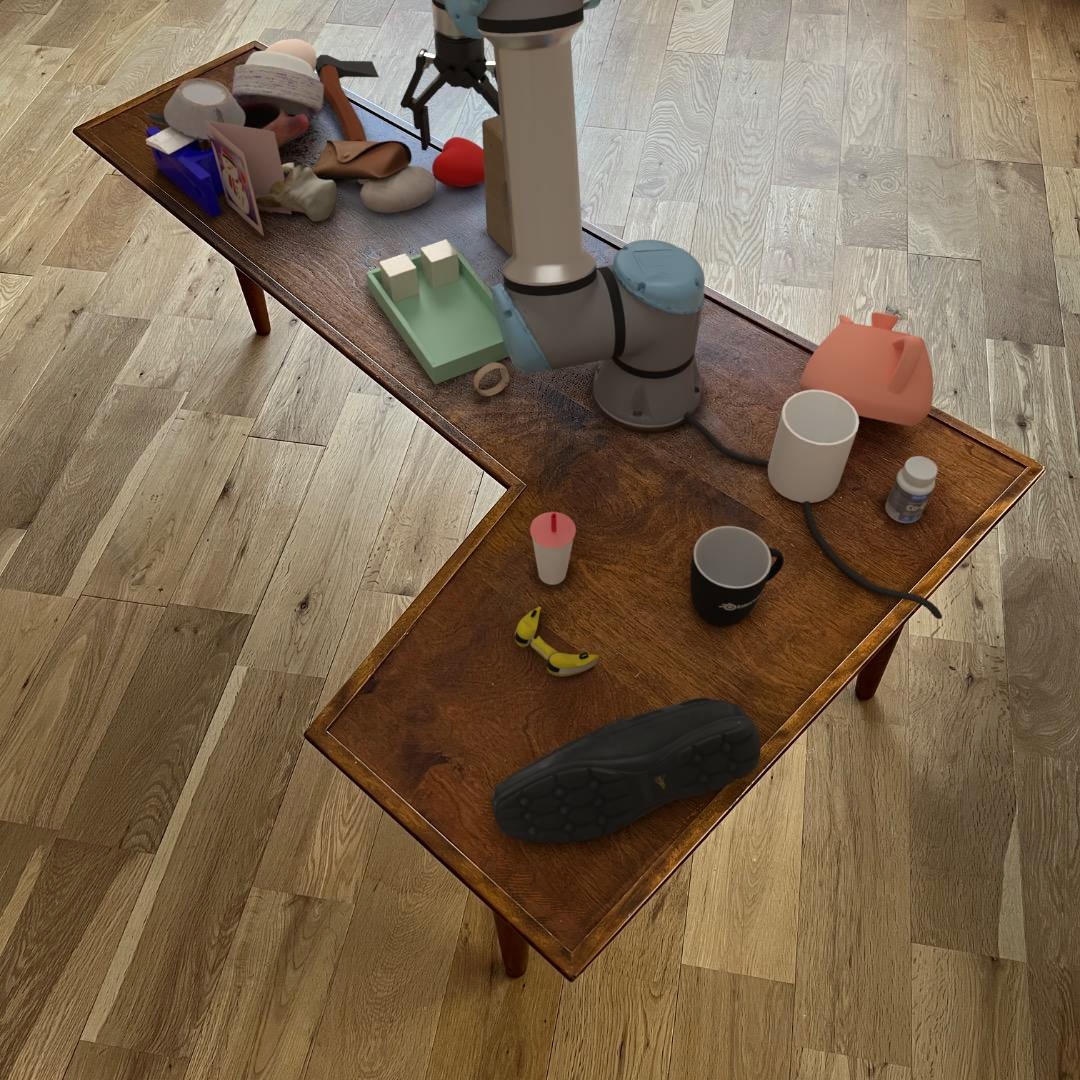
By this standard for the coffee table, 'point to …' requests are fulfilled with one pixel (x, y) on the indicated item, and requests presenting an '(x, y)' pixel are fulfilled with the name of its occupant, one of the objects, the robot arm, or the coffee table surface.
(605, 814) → the loafer
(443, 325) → the ornament tray
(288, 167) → the ceramic sculpture
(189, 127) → the bowl
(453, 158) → the heart
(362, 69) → the hand axe
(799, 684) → the coffee table surface
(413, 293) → the beige short block
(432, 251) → the cream block
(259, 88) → the paper bowls
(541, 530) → the cup
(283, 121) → the bowl
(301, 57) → the egg
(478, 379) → the beige ring band
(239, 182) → the greeting card
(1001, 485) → the coffee table surface
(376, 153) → the sunglasses case
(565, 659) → the yellow curved segmented toy
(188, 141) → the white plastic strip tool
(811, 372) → the teapot
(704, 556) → the mug
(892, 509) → the pill bottle
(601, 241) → the coffee table surface
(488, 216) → the decorative block
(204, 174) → the mounting bracket
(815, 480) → the mug
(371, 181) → the decorative stone
